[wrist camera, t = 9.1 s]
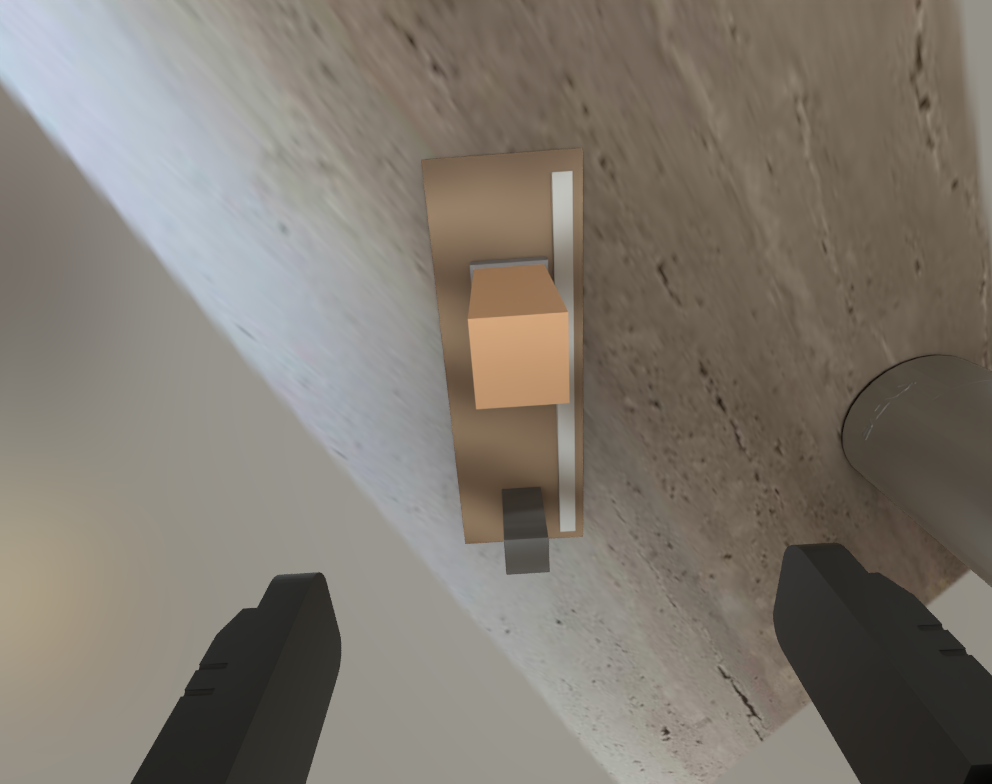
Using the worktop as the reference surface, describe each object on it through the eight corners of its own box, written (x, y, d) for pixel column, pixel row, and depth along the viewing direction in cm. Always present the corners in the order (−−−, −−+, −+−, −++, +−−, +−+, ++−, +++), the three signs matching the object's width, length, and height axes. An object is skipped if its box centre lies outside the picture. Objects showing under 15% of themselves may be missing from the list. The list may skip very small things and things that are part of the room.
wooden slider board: (424, 159, 28) (407, 161, 22) (578, 148, 28) (602, 146, 22) (466, 529, 38) (462, 600, 32) (579, 522, 37) (596, 591, 32)
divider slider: (470, 261, 28) (461, 314, 19) (545, 256, 28) (574, 306, 19) (476, 334, 30) (471, 414, 21) (548, 329, 30) (574, 407, 21)
